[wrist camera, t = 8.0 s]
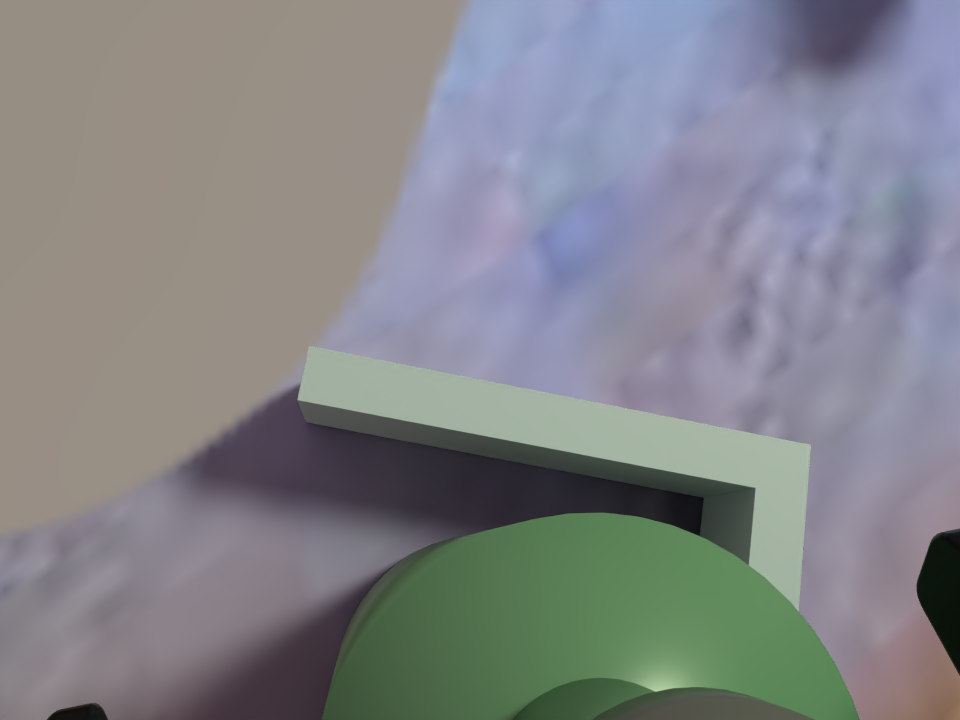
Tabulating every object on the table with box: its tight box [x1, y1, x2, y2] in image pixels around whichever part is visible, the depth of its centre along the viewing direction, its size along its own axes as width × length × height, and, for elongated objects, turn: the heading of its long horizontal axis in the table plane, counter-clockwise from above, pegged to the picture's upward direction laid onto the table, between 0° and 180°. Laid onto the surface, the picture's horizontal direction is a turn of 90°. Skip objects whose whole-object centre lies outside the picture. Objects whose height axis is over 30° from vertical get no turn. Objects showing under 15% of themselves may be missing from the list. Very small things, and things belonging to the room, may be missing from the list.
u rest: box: [297, 346, 811, 610], centre depth 16 cm, size 10×10×2 cm
